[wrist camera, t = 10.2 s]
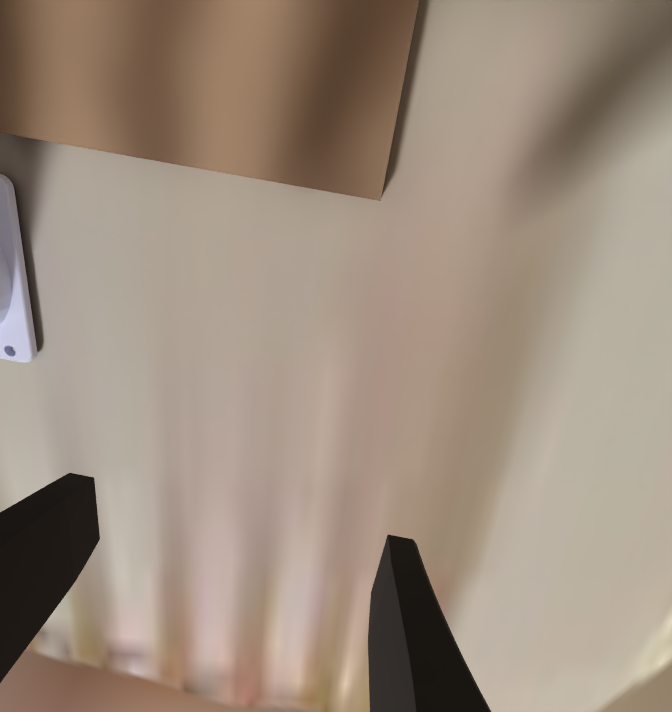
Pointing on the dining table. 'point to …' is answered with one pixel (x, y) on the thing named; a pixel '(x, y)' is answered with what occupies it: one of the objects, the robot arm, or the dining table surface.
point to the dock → (214, 83)
